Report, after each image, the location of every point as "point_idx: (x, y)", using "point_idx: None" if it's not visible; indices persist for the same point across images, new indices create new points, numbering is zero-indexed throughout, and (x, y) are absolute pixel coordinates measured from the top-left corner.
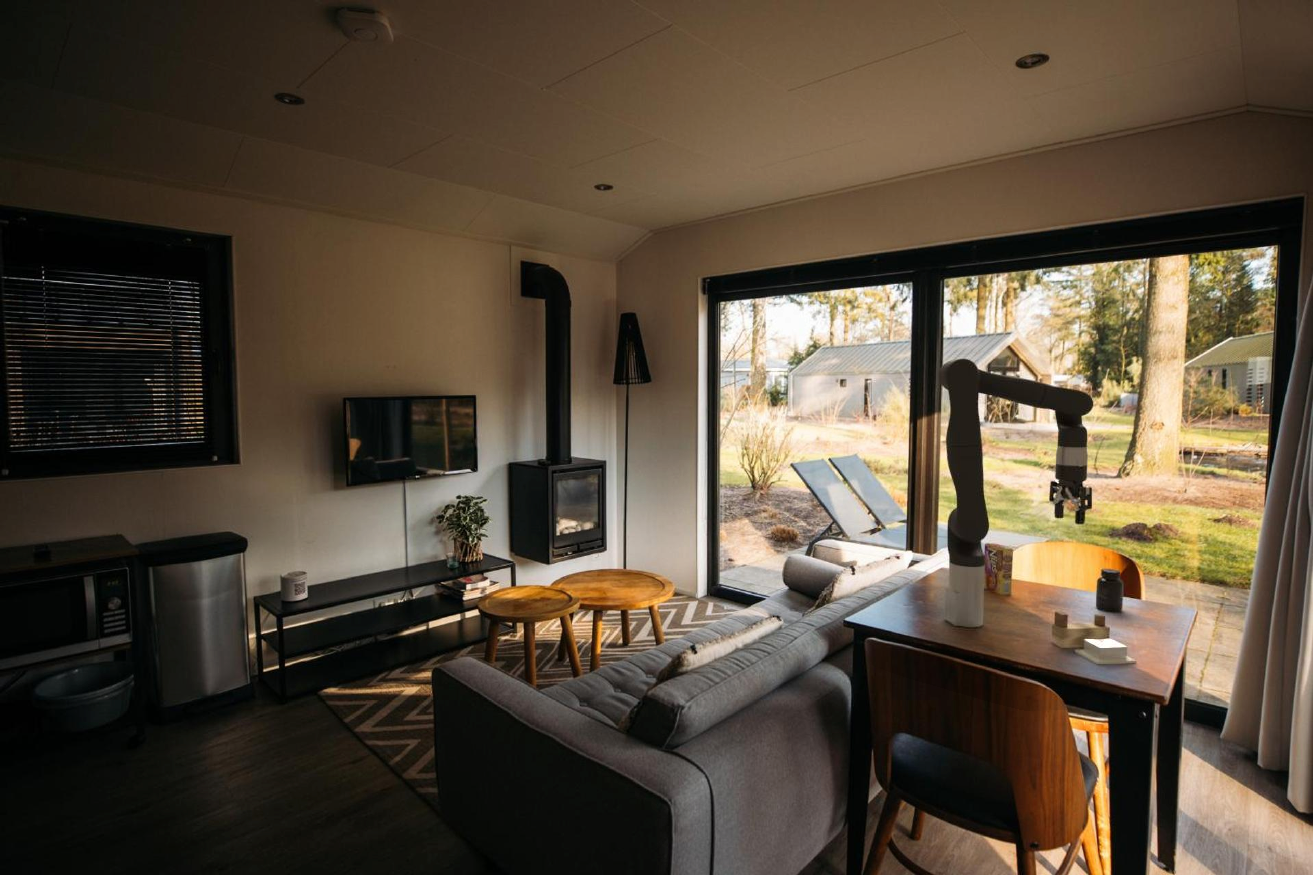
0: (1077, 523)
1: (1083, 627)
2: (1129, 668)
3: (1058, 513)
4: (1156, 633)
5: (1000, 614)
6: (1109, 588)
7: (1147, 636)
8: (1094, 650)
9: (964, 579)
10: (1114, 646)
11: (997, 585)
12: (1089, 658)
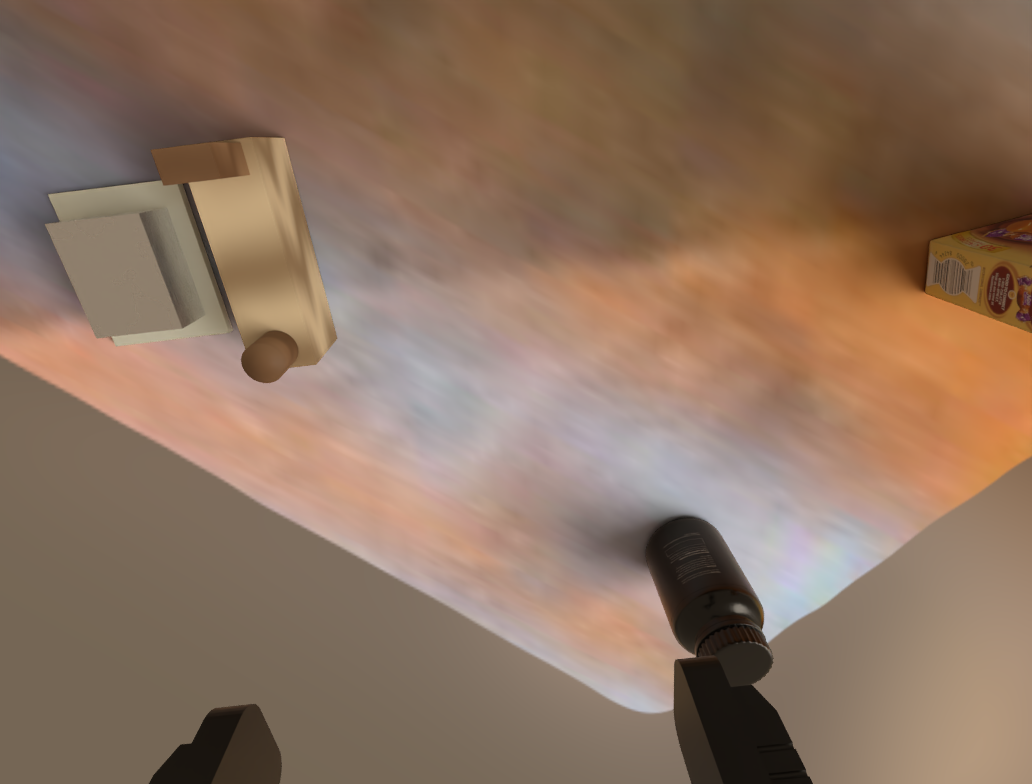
0: (212, 713)
1: (226, 262)
2: (53, 290)
3: (700, 747)
4: (440, 550)
5: (659, 87)
6: (679, 593)
7: (407, 513)
8: (93, 217)
9: None
10: (83, 291)
11: (986, 240)
12: (95, 189)
